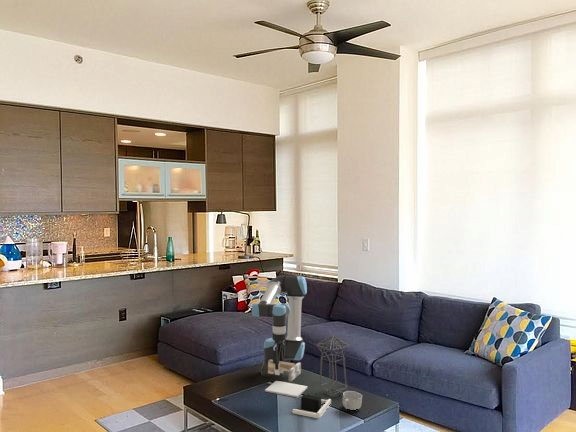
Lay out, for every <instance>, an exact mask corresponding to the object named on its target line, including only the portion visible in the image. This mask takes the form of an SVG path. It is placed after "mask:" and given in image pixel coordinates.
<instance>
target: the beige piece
mask: <svg viewBox="0 0 576 432" xmlns="http://www.w3.org/2000/svg"><path fill="white" fill-rule="evenodd" d="M279 363H280V370H282V371H284V372H288V382H293V380H295V379H296V378H297V377H298V376H299V375H301V373H302V362H300V361H299V362H297V363H293V362H287V361H283V362H282V361H279ZM268 373H269V374H274V373H275V363H273V360H269V361H268Z"/></svg>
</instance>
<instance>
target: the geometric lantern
mask: <svg viewBox="0 0 576 432" xmlns="http://www.w3.org/2000/svg"><path fill="white" fill-rule="evenodd" d="M315 346H316V348H317V349H318V350H319V351H320V352H321V355H320V366H319V368H320V371H319V374H320V375H319V388H321V389H322V390H323V391H324V392H325V393H326V392H327V394H328V393H329V394H331V395H333V397H334V396H335V397H336V394H340V393H344V392H345V390H347V389H348V387H347V373H346V372H347V370H346V357H345V356H344V351H345V350H346V349H348V348H349V347H350V346H351V344H349V343H347V342H346V341H345V340H342V339H341V338H339V337H337V336H336V335H330V336H329V337H327V338H325V339H322V340H321V341H319V342H317V343H316V344H315ZM342 346H343V347H342ZM332 347H333V348H332ZM325 350H326V351H325ZM340 350H341V351H340ZM332 351H333V352H334V353H333V352H332ZM328 352H329V353H330V354H328ZM324 354H325V355H324ZM339 354H341V355H339ZM329 356H331V359H330V357H329ZM337 356H338V357H340V358H341V359H337ZM325 357H326V358H327V359H326V358H325ZM323 360H325V361H327V362H328V363H329V365H328V366H329V371H328V372H329V376H328V377H329V381H328V382H325V383H322V375H323V374H322V372H323ZM339 361H342V363H343V372H344V384H343V383H341V382H339V381H338V380H337V379H338V378H337V372H335V371H337V362H339ZM334 365H335V366H334ZM334 367H335V370H334ZM331 379H332V380H331ZM327 384H329V385H328V386H329V388H325V387H323V386H325V385H327ZM337 384H339V385H342V386H343V387H342V388H338V387H336V385H337ZM331 390H334V391H331ZM335 390H336V391H338V392H336V391H335ZM328 391H329V392H328ZM339 392H340V393H339Z"/></svg>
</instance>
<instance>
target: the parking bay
mask: <svg viewBox="0 0 576 432" xmlns="http://www.w3.org/2000/svg"><path fill="white" fill-rule="evenodd" d="M321 403H325V404H323V405H321V409H320V410H319V411H318V412H317V413H316V412H311V411H306V410H301V409H296V408H293V409H292V414H295V415H300V416H305V417H309V418H315V419H320V418H321V417H322V416H323V415H324V414H325V413H326V411H327V410H328V409H329V407H330V406H331V405H332V399H331V398H328V399H322V398H321ZM330 404H331V405H330ZM329 405H330V406H329ZM327 408H328V409H327ZM326 409H327V410H326Z"/></svg>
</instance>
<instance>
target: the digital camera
mask: <svg viewBox="0 0 576 432" xmlns="http://www.w3.org/2000/svg"><path fill="white" fill-rule="evenodd" d="M321 399H322V397H320V396H315V395H311V394H303V395H302V396H301V397H300V410H303V411H308V412H312V413H317V412H318V411H319V410H320V409H321V408H322V404H321Z"/></svg>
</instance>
